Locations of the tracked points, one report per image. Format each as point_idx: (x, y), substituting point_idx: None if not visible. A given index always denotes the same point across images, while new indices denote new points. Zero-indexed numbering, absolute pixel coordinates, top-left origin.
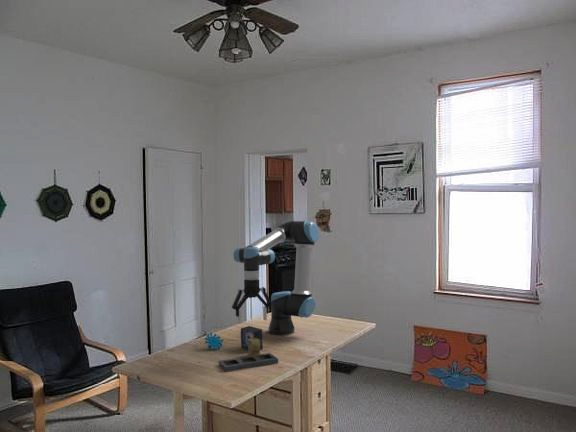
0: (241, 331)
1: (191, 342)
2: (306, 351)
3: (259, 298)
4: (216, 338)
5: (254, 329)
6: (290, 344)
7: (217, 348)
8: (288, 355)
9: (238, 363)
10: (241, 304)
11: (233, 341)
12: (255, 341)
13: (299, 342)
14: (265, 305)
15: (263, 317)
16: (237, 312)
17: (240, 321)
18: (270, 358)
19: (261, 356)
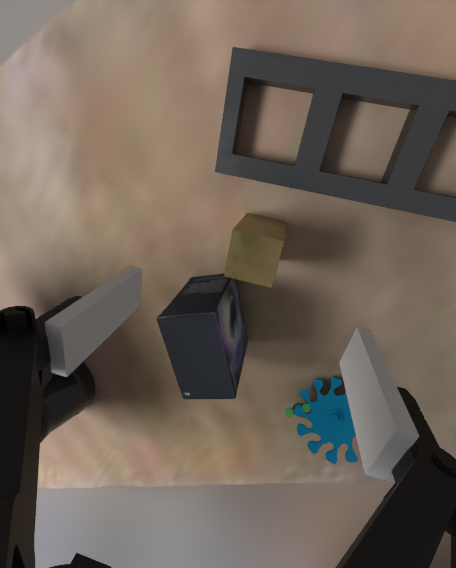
0: (237, 382)
1: (344, 479)
2: (54, 131)
3: (19, 481)
4: (317, 426)
5: (192, 340)
6: (78, 253)
7: (332, 380)
8: (141, 133)
9: (434, 136)
10: (409, 520)
11: (230, 404)
12: (258, 234)
13: (41, 250)
14: (35, 345)
15: (132, 311)
16: (418, 426)
17: (364, 337)
18: (238, 129)
19: (269, 161)
